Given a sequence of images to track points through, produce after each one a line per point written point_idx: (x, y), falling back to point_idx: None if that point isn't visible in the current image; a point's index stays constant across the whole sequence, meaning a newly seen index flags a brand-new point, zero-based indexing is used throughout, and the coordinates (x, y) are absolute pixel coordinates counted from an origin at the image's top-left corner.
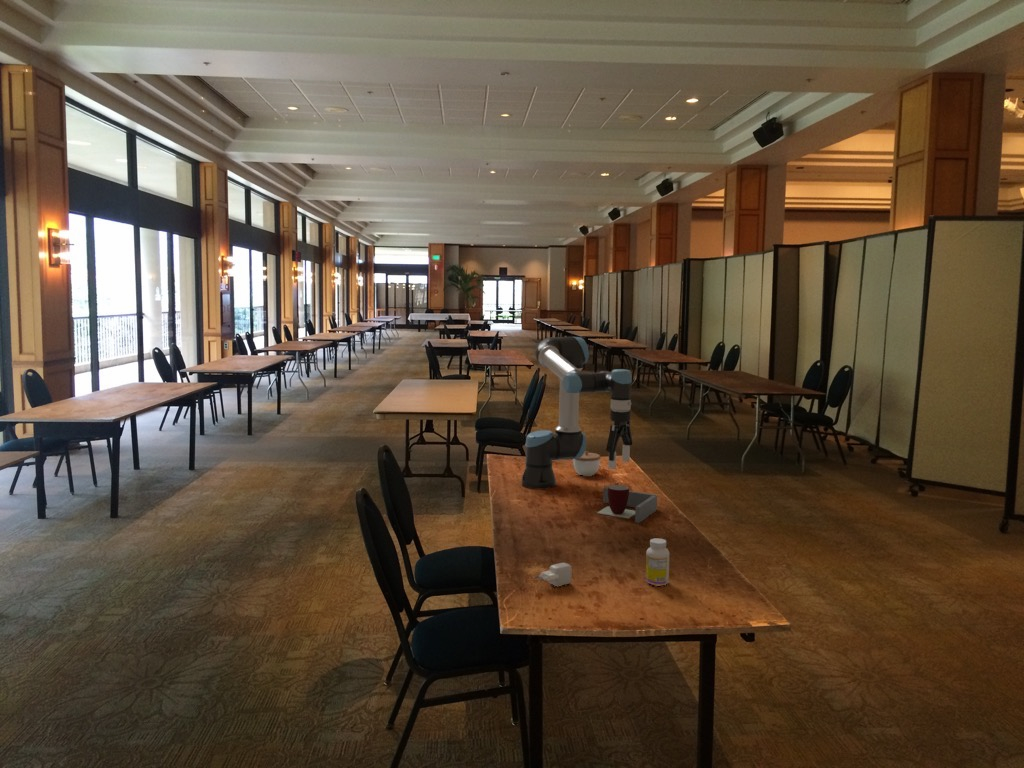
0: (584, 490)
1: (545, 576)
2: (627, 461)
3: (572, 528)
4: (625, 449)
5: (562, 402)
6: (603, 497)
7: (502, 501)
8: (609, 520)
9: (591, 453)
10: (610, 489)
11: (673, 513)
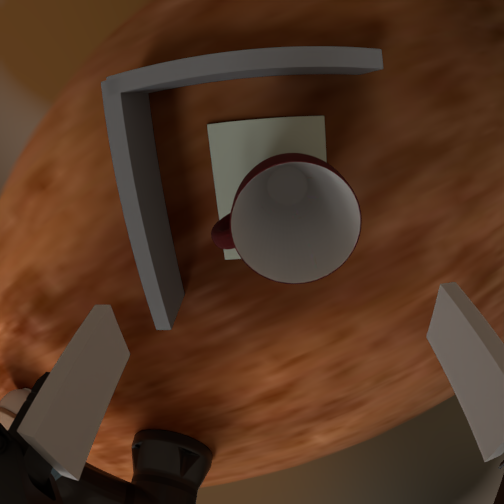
0: (122, 377)
1: None
2: (111, 318)
3: (497, 239)
4: (75, 425)
5: None
6: (180, 304)
7: (342, 446)
8: (387, 173)
9: (3, 425)
10: (353, 248)
11: (137, 12)
